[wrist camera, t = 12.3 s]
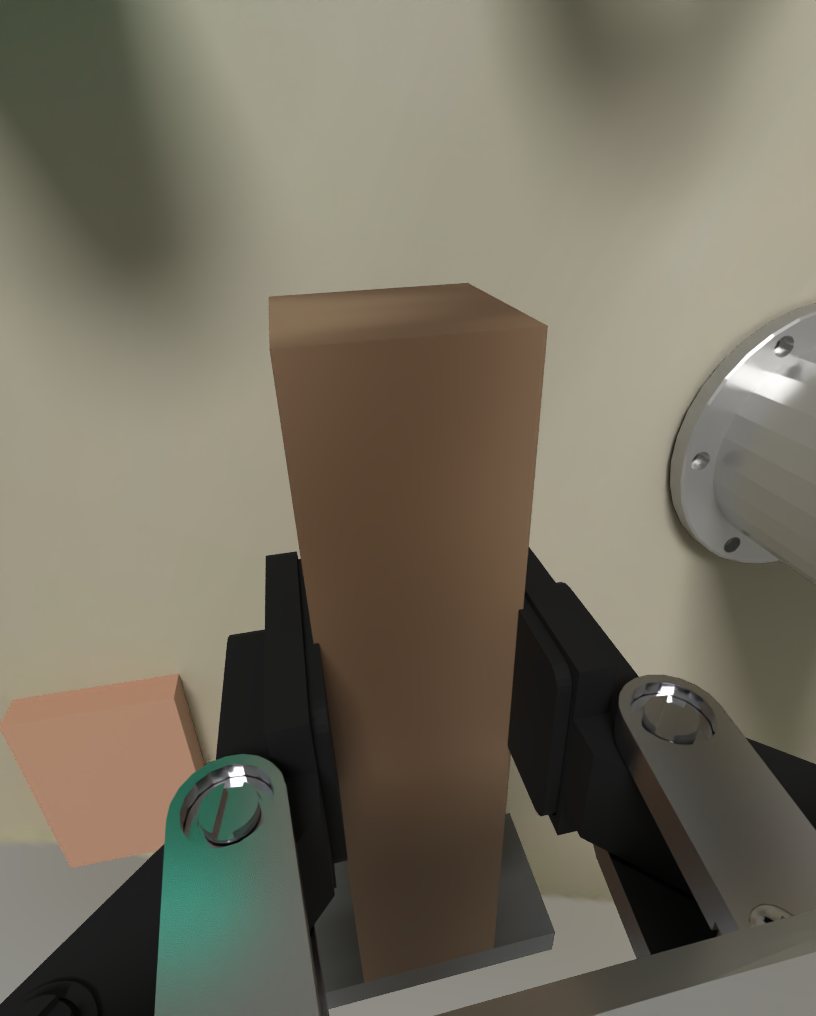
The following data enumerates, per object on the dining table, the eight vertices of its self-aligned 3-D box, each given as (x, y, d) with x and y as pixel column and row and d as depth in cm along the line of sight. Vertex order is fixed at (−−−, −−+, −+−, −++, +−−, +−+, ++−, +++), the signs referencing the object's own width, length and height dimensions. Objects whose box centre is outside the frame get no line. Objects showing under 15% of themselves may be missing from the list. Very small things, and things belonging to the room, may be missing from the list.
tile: (173, 698, 26) (215, 838, 30) (180, 666, 27) (218, 804, 32) (-1, 726, 24) (70, 868, 29) (17, 692, 26) (82, 830, 31)
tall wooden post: (559, 277, 9) (671, 315, 7) (507, 830, 17) (551, 949, 14) (160, 304, 8) (112, 362, 6) (294, 879, 16) (300, 1016, 13)
